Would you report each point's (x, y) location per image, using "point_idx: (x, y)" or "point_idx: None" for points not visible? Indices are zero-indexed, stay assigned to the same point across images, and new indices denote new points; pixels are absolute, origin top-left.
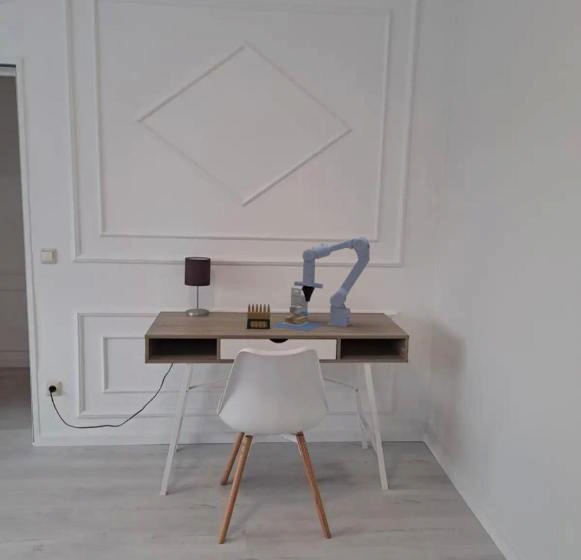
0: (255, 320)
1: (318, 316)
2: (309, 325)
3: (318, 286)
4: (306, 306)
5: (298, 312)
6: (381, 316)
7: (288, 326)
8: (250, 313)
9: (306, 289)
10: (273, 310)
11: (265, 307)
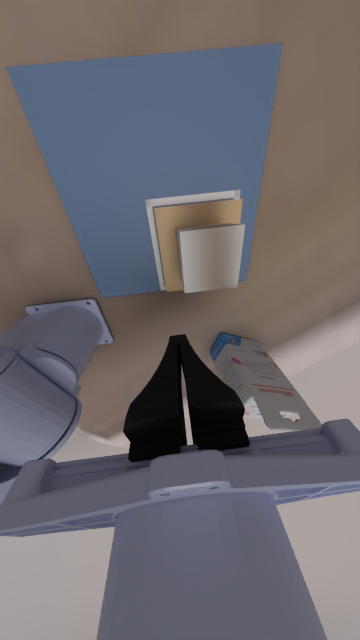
0: None
1: None
2: (122, 240)
3: (64, 483)
4: (220, 371)
5: (177, 236)
6: (88, 426)
7: (182, 134)
8: None
9: (176, 399)
10: (314, 351)
11: None
